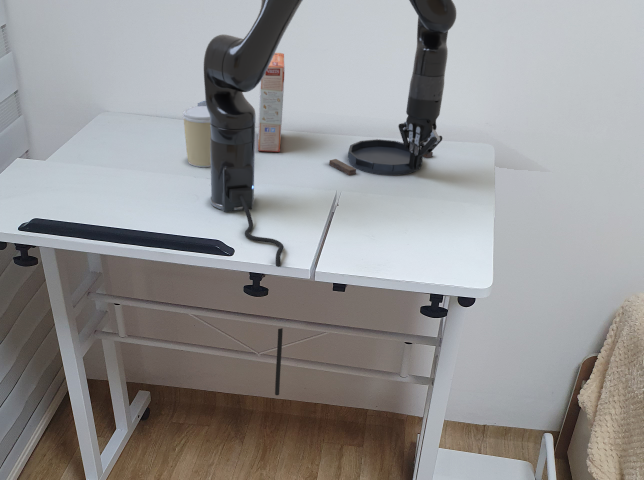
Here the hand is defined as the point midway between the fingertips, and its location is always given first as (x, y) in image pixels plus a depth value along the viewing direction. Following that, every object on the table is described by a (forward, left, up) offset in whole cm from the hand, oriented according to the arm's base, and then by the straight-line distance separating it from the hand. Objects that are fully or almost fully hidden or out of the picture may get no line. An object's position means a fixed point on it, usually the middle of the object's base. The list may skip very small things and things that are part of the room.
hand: (414, 169), depth 172 cm
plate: (+10, +3, -2) cm, 11 cm away
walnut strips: (+11, +3, -2) cm, 12 cm away
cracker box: (+30, +27, -2) cm, 40 cm away
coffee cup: (+21, +47, -2) cm, 51 cm away
